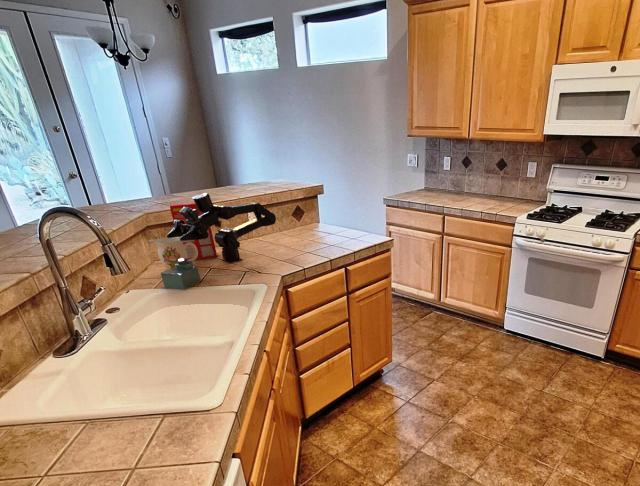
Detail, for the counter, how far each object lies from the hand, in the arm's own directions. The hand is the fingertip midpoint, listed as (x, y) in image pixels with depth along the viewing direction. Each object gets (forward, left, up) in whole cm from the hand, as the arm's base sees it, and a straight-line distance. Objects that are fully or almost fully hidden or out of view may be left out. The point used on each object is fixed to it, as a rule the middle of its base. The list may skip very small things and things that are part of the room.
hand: (173, 238), depth 174 cm
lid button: (+2, +11, -8) cm, 14 cm away
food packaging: (-17, -20, -16) cm, 31 cm away
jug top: (+5, +12, -16) cm, 21 cm away
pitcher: (-3, -10, -16) cm, 19 cm away
